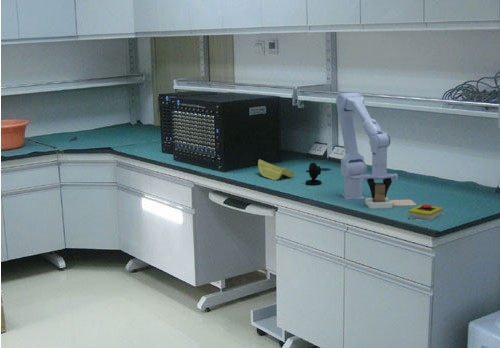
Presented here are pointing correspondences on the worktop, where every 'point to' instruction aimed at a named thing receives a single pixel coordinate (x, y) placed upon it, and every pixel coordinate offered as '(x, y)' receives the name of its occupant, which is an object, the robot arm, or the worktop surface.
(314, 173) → the webcam
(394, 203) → the pad
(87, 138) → the worktop surface
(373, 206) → the pocket block
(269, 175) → the plastic component
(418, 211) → the emergency button
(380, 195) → the peg
